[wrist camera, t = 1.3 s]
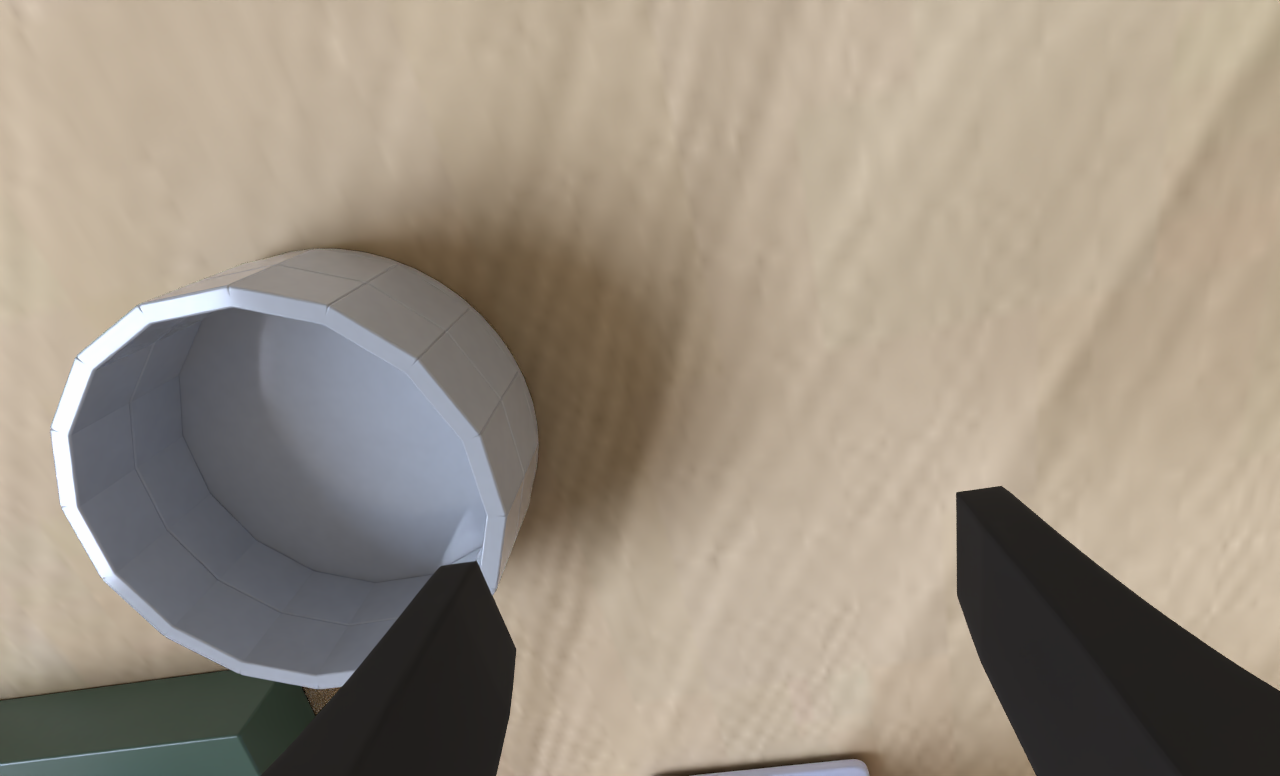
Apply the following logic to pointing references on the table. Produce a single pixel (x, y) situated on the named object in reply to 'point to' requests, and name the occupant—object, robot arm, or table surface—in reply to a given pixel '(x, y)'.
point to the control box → (154, 728)
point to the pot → (294, 457)
